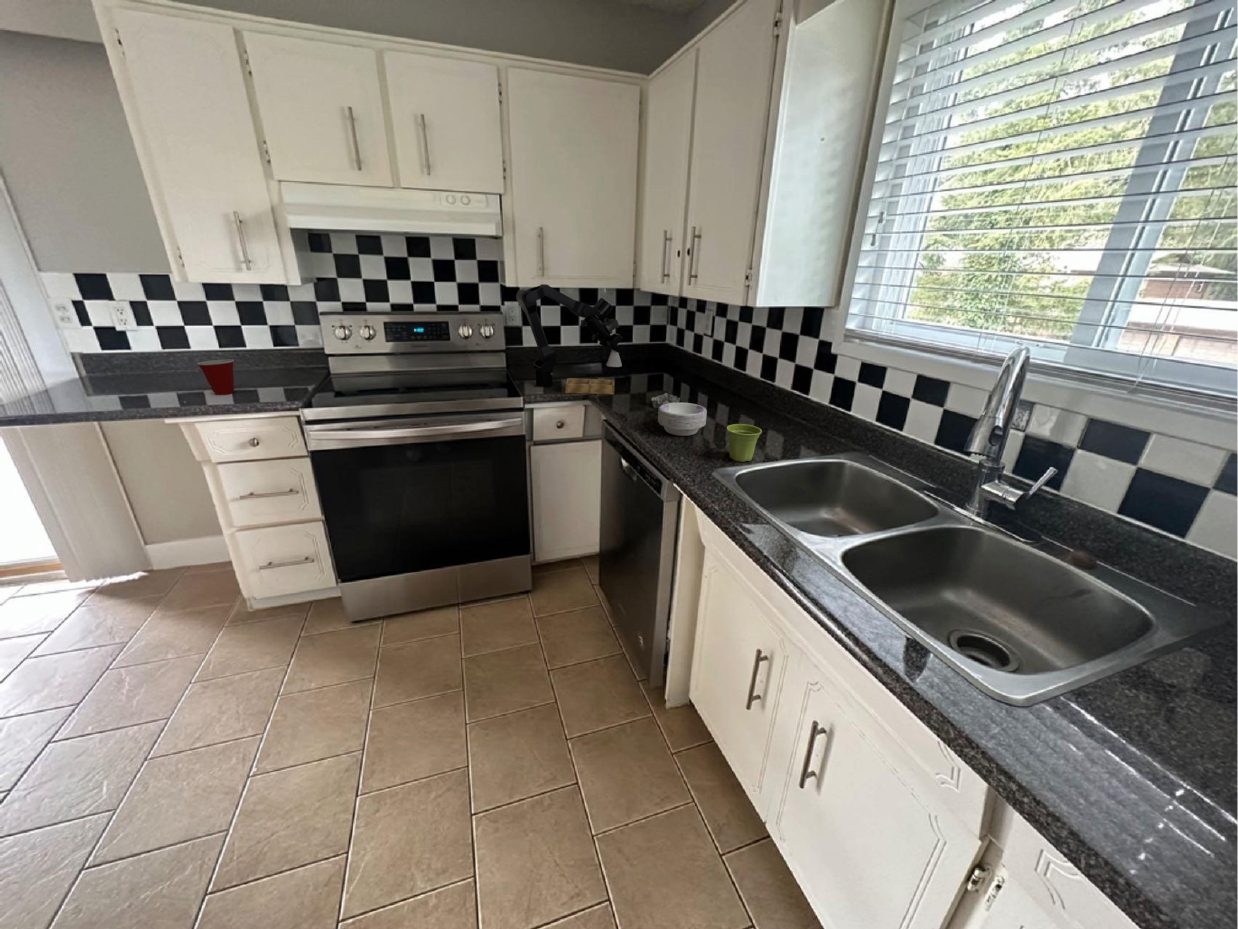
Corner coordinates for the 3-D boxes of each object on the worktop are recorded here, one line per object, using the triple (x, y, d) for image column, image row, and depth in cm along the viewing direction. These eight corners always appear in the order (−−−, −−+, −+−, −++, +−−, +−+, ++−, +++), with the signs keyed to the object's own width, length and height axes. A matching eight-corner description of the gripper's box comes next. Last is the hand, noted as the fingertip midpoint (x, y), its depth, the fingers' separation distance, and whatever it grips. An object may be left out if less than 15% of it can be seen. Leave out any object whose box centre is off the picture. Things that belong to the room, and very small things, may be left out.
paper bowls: (654, 424, 167) (655, 401, 164) (698, 424, 169) (701, 401, 166) (660, 439, 153) (662, 414, 150) (709, 439, 155) (712, 415, 152)
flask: (622, 364, 230) (623, 342, 226) (621, 368, 223) (622, 345, 219) (607, 363, 230) (607, 341, 226) (605, 367, 223) (605, 344, 220)
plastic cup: (233, 387, 191) (224, 356, 186) (248, 392, 186) (239, 359, 182) (199, 393, 182) (190, 360, 178) (214, 398, 177) (205, 364, 173)
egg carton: (665, 410, 183) (666, 400, 181) (648, 406, 187) (649, 395, 185) (681, 405, 190) (682, 394, 189) (665, 401, 195) (666, 391, 193)
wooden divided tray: (565, 392, 201) (565, 384, 200) (567, 386, 211) (567, 378, 209) (614, 394, 202) (614, 385, 200) (613, 388, 211) (614, 379, 210)
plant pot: (720, 461, 138) (724, 431, 135) (726, 450, 147) (729, 422, 143) (755, 466, 135) (759, 436, 132) (759, 455, 144) (763, 426, 140)
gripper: (619, 314, 208) (640, 340, 218) (598, 310, 223) (618, 334, 233) (602, 334, 208) (623, 360, 217) (582, 328, 222) (603, 352, 232)
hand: (617, 351), depth 225 cm, fingers closed on flask, 3 cm apart
